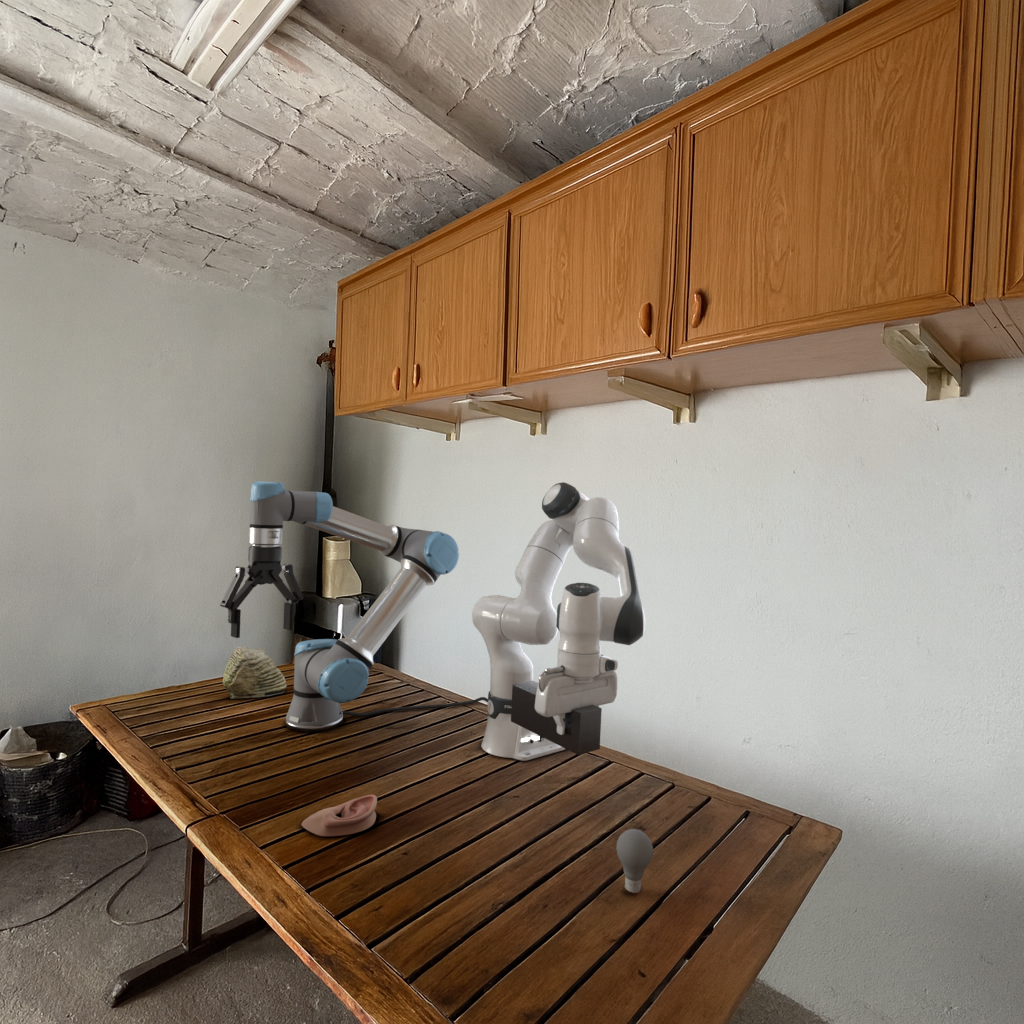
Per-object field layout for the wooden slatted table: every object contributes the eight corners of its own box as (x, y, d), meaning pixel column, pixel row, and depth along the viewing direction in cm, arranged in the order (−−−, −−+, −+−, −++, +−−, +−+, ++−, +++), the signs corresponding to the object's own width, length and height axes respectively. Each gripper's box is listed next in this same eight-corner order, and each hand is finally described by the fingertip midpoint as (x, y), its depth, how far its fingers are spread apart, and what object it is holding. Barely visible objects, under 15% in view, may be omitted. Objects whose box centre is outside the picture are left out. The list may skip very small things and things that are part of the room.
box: (510, 721, 143) (512, 684, 142) (531, 716, 146) (532, 680, 146) (578, 755, 125) (580, 713, 125) (599, 749, 129) (601, 708, 129)
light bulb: (610, 879, 108) (613, 822, 108) (644, 879, 109) (647, 822, 109) (619, 902, 102) (622, 840, 102) (655, 901, 103) (658, 840, 103)
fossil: (218, 695, 195) (220, 647, 195) (278, 685, 208) (279, 640, 207) (228, 703, 189) (230, 653, 188) (289, 692, 201) (290, 645, 201)
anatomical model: (293, 811, 119) (323, 784, 130) (292, 831, 119) (323, 803, 130) (359, 821, 116) (384, 793, 128) (358, 842, 116) (383, 813, 128)
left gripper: (222, 548, 141) (219, 643, 141) (319, 545, 160) (316, 628, 161) (206, 545, 145) (203, 637, 146) (302, 543, 165) (299, 624, 165)
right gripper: (550, 673, 121) (547, 745, 121) (623, 660, 134) (620, 725, 134) (529, 666, 126) (526, 734, 126) (601, 654, 139) (598, 717, 139)
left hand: (262, 633), depth 153 cm, fingers open, 13 cm apart
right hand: (575, 730), depth 130 cm, fingers closed on box, 6 cm apart
